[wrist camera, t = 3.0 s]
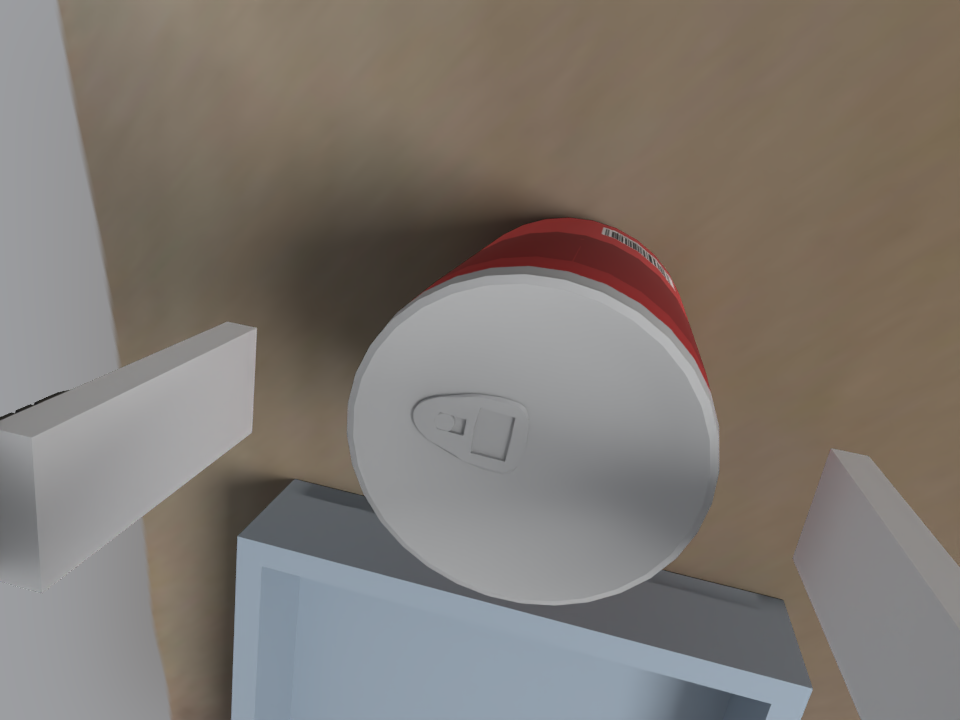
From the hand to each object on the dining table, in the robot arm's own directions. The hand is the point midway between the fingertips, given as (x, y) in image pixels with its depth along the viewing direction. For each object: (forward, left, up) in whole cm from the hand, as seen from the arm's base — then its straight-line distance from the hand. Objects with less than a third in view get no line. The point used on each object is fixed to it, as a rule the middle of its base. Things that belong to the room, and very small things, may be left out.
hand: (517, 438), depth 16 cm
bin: (+19, 0, -10) cm, 21 cm away
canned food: (0, 0, -10) cm, 10 cm away
